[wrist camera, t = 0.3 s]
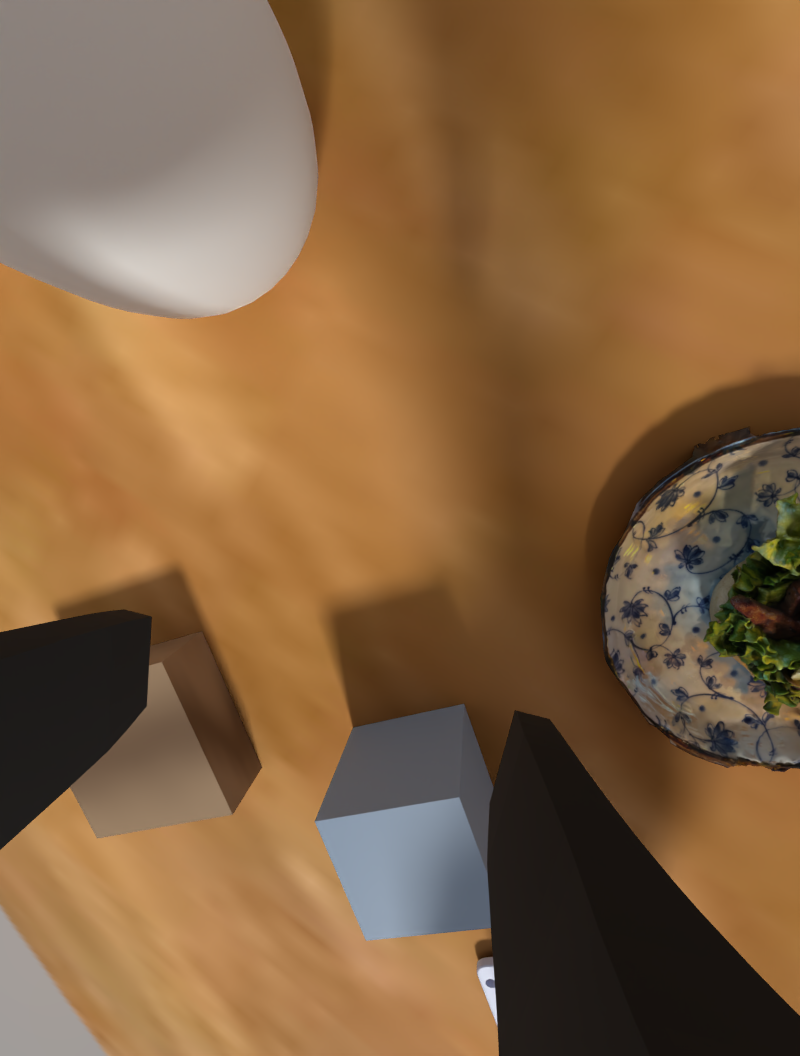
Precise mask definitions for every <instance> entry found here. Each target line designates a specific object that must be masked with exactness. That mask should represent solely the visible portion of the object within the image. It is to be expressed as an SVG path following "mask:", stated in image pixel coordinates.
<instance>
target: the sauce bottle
mask: <svg viewBox="0 0 800 1056" xmlns="http://www.w3.org/2000/svg"><path fill="white" fill-rule="evenodd" d="M317 186H318V165H317V156H316V147H315V138H314V131H313V125H312V120H311V116H310V112H309V109H308V105H307V102H306V99H305V96H304V92H303V89H302V86H301V82H300V79H299V76H298V73H297V69H296V66H295V63H294V60H293V57H292V55H291V52H290V50H289V47H288V44H287V42H286V39H285V37H284V35H283V33H282V30H281V28H280V26H279V24H278V22H277V19H276V17H275V15H274V13H273V11H272V9H271V7H270V5H269V3H268V1H267V0H0V263H2V264H4V265H6V266H8V267H11V268H13V269H15V270H17V271H20V272H22V273H24V274H26V275H28V276H31V277H33V278H35V279H37V280H40V281H42V282H45V283H47V284H50V285H52V286H55V287H57V288H60V289H62V290H65V291H67V292H70V293H72V294H75V295H78V296H80V297H83V298H85V299H88V300H90V301H93V302H97V303H100V304H103V305H106V306H109V307H112V308H116V309H120V310H124V311H128V312H133V313H139V314H145V315H152V316H159V317H167V318H177V319H193V318H201V317H208V316H215V315H221V314H225V313H228V312H231V311H233V310H236V309H238V308H240V307H243V306H245V305H248V304H250V303H252V302H254V301H255V300H256V299H258V298H259V297H261V296H262V295H264V294H265V293H266V292H268V291H269V290H271V289H272V288H273V287H274V286H275V285H276V284H277V283H278V282H279V281H280V280H281V279H282V278H283V277H284V276H285V275H286V273H287V272H288V270H289V269H290V268H291V266H292V265H293V263H294V262H295V260H296V259H297V258H298V256H299V254H300V252H301V250H302V247H303V245H304V243H305V241H306V239H307V237H308V234H309V230H310V227H311V223H312V220H313V216H314V213H315V208H316V197H317Z"/></svg>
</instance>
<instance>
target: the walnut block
mask: <svg viewBox="0 0 800 1056" xmlns="http://www.w3.org/2000/svg"><path fill="white" fill-rule="evenodd" d="M261 768H262V767H261V764H260V762H259V760H258V757H257V755H256V753H255V751H254V748H253V746H252V744H251V742H250V739H249V737H248V735H247V732H246V730H245V728H244V726H243V723H242V721H241V719H240V716H239V714H238V712H237V710H236V707H235V705H234V703H233V701H232V698H231V696H230V694H229V691H228V689H227V687H226V685H225V682H224V680H223V678H222V676H221V673H220V671H219V669H218V666H217V664H216V662H215V660H214V657H213V655H212V653H211V650H210V648H209V646H208V644H207V641H206V639H205V637H204V635H203V632H202V631H201V632H198V633H194V634H191V635H187V636H184V637H180V638H177V639H173V640H170V641H166V642H163V643H159V644H156V645H152V646H150V658H149V677H148V695H147V707H146V708H145V709H144V710H143V711H142V713H141V714H140V715H139V716H138V717H137V719H136V720H135V721H134V722H133V724H132V725H131V726H130V727H129V728H128V730H127V731H126V732H125V733H124V734H123V735H122V736H121V737H120V739H119V740H118V741H117V742H116V743H115V744H114V745H113V746H112V747H111V749H110V750H109V751H108V752H107V753H106V754H105V755H104V756H102V757H101V758H100V759H99V760H98V761H97V762H96V763H95V764H94V765H93V766H92V767H91V768H90V769H89V770H87V771H86V772H85V773H84V774H83V775H82V776H81V777H80V778H79V779H78V780H77V781H76V782H74V783H73V784H72V785H71V786H70V788H71V790H72V792H73V793H74V795H75V797H76V799H77V801H78V803H79V805H80V807H81V809H82V811H83V812H84V814H85V816H86V818H87V820H88V822H89V824H90V826H91V828H92V830H93V831H94V833H95V835H96V837H97V838H103V837H108V836H114V835H120V834H125V833H131V832H137V831H142V830H148V829H154V828H159V827H165V826H171V825H176V824H182V823H188V822H194V821H199V820H205V819H211V818H216V817H222V816H228V815H233V813H234V812H235V810H236V808H237V807H238V805H239V803H240V802H241V800H242V799H243V797H244V795H245V794H246V792H247V791H248V789H249V787H250V786H251V784H252V783H253V781H254V779H255V778H256V776H257V775H258V773H259V771H260V770H261Z"/></svg>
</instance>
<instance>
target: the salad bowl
mask: <svg viewBox="0 0 800 1056" xmlns="http://www.w3.org/2000/svg"><path fill="white" fill-rule="evenodd" d="M714 438H715V437H712V438H710V439H709V440H708V441H707V442H706V443H705V444H698V446H699V447H698V448H697V445H696V446H695V447H694V451H693V457H691V458H690V459H689V460H687V461H686V462H685V463H684V464H683V465H681V466H680V467H678V468H677V469H675V470H674V471H673V472H672V473H670V474H669V475H667V476H666V477H664V478H663V479H661V480H660V481H659V482H658V483H657V484H656V485H655V486H654V487H653V488H652V489H651V490H650V491H649V492H648V493H646V494H645V495H644V496H643V497H642V498H641V500H640V501H639V502H638V503H637V504H636V507H635V509H634V512H633V514H632V517H631V519H630V521H629V523H628V525H627V527H626V530H625V532H624V534H623V536H622V537H621V539H620V540H619V542H618V543H617V545H616V546H615V548H614V550H613V551H612V554H611V556H610V558H609V561H608V566H607V569H606V573H605V577H604V582H603V588H602V594H601V617H602V631H603V649H604V654H605V658H606V662H607V664H608V666H609V667H610V669H611V670H612V672H613V673H614V675H615V676H616V677H617V679H618V680H619V682H620V683H621V684H622V686H623V687H624V688H625V690H626V691H627V693H628V694H629V695H630V697H631V698H632V700H633V701H634V702H635V704H636V705H637V707H638V708H639V709H640V711H641V713H642V714H643V716H644V717H645V719H646V720H647V721H648V723H649V724H651V725H653V726H655V727H657V728H658V729H659V730H660V731H661V732H662V733H664V734H665V735H666V736H667V737H668V738H669V739H670V743H671V744H673V745H675V746H676V747H678V748H680V749H682V750H683V751H685V752H687V753H689V754H691V755H693V756H696V757H699V758H701V759H704V760H706V761H709V762H712V763H715V764H718V765H722V766H724V767H726V768H728V767H731V766H741V765H743V766H747V765H752V766H763V767H766V768H768V769H771V770H772V771H781V772H785V771H787V770H788V769H790V768H798V769H800V428H794V429H790V430H782V431H779V432H770V433H768V434H763V435H762V436H759V435H758V436H755V435H753V434H750V427H748V428H745V429H741V430H738V431H735V432H731V433H726V434H725V435H724V434H723V435H719V439H718V440H714Z"/></svg>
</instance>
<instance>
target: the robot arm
mask: <svg viewBox="0 0 800 1056" xmlns="http://www.w3.org/2000/svg"><path fill="white" fill-rule="evenodd" d="M151 622H152V617H151V616H147V615H143V614H139V613H135V612H132V611H128V610H116V611H107V612H100V613H94V614H88V615H83V616H78V617H73V618H67V619H62V620H58V621H53V622H48V623H43V624H38V625H33V626H28V627H24V628H19V629H14V630H9V631H4V632H0V850H1V849H2V848H3V847H4V846H5V845H6V844H7V843H8V842H9V841H10V840H12V839H13V838H14V837H15V836H16V835H17V834H18V833H19V832H20V831H21V830H23V829H24V828H25V827H26V826H27V825H28V824H29V823H30V822H31V821H33V820H34V819H35V818H36V817H37V816H38V815H39V814H40V813H41V812H42V811H44V810H45V809H46V808H47V807H48V806H49V805H50V804H51V803H52V802H54V801H55V800H56V799H57V798H58V797H59V796H60V795H61V794H62V793H63V792H65V791H66V790H67V789H68V788H69V787H70V786H71V785H72V784H73V783H74V782H76V781H77V780H78V779H79V778H80V777H81V776H82V775H83V774H84V773H85V772H86V771H87V770H89V769H90V768H91V767H92V766H93V765H94V764H95V763H96V762H97V761H98V760H99V759H100V758H101V757H102V756H104V755H105V754H106V753H107V752H108V751H109V750H110V749H111V747H112V746H113V745H114V744H115V743H116V742H117V741H118V740H119V739H120V737H121V736H122V735H123V734H124V733H125V732H126V731H127V730H128V728H129V727H130V726H131V725H132V724H133V722H134V721H135V720H136V719H137V717H138V716H139V715H140V714H141V713H142V711H143V710H144V709H145V708H146V707H147V695H148V677H149V658H150V640H151ZM487 873H488V889H489V905H490V921H491V935H492V950H493V957H485V958H481V959H480V960H479V961H478V962H477V975H478V978H479V980H480V983H481V985H482V988H483V991H484V993H485V996H486V998H487V1001H488V1003H489V1006H490V1009H491V1011H492V1014H493V1016H494V1019H495V1021H496V1024H497V1027H498V1042H499V1056H800V1016H799V1015H798V1014H797V1013H796V1012H795V1011H794V1010H793V1009H792V1008H791V1007H790V1006H789V1005H788V1004H787V1003H786V1002H785V1001H784V1000H783V999H782V998H781V997H780V996H779V995H778V994H777V993H776V992H775V991H774V990H773V988H772V987H771V986H770V985H769V984H768V983H767V982H766V981H765V980H764V979H763V978H762V977H761V976H760V975H759V974H758V973H757V972H756V971H755V970H754V969H753V968H752V967H751V966H750V965H749V964H748V963H747V962H746V960H745V959H744V958H743V957H742V956H741V955H740V954H739V953H738V952H737V951H736V950H735V949H734V948H733V946H732V945H731V944H730V943H729V942H728V941H727V940H726V939H725V938H724V937H723V936H722V935H721V934H720V933H719V931H718V930H717V929H716V928H715V927H714V926H713V925H712V924H711V923H710V922H709V921H708V920H707V919H706V918H705V916H704V915H703V914H702V913H701V912H700V911H699V910H698V909H697V908H696V906H695V905H694V904H693V903H692V902H691V901H690V900H689V899H688V897H687V896H686V895H685V894H684V893H683V892H682V891H681V889H680V888H679V887H678V886H677V885H676V884H675V882H674V881H673V880H672V879H671V878H670V876H669V875H668V874H667V873H666V872H665V870H664V869H663V868H662V867H661V866H660V864H659V863H658V862H657V861H656V860H655V858H654V857H653V856H652V855H651V854H650V852H649V851H648V850H647V849H646V848H645V846H644V845H643V844H642V843H641V842H640V840H639V839H638V838H637V837H636V835H635V834H634V833H633V831H632V830H631V829H630V828H629V826H628V825H627V824H626V823H625V821H624V820H623V819H622V817H621V816H620V815H619V814H618V812H617V811H616V810H615V808H614V807H613V806H612V804H611V803H610V802H609V800H608V799H607V798H606V796H605V795H604V794H603V792H602V791H601V790H600V788H599V787H598V786H597V784H596V783H595V782H594V780H593V779H592V777H591V776H590V775H589V773H588V772H587V771H586V769H585V768H584V766H583V765H582V764H581V762H580V761H579V759H578V758H577V757H576V755H575V754H574V752H573V751H572V750H571V748H570V747H569V745H568V744H567V742H566V741H565V740H564V738H563V737H562V735H561V734H560V733H559V731H558V730H557V729H556V727H555V726H554V725H553V723H552V722H551V721H550V719H547V718H543V717H539V716H535V715H531V714H527V713H523V712H519V711H516V710H515V713H514V716H513V720H512V724H511V727H510V731H509V734H508V738H507V742H506V745H505V749H504V752H503V756H502V760H501V763H500V767H499V771H498V774H497V778H496V781H495V785H494V789H493V792H492V796H491V800H490V803H489V824H488V849H487Z"/></svg>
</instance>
